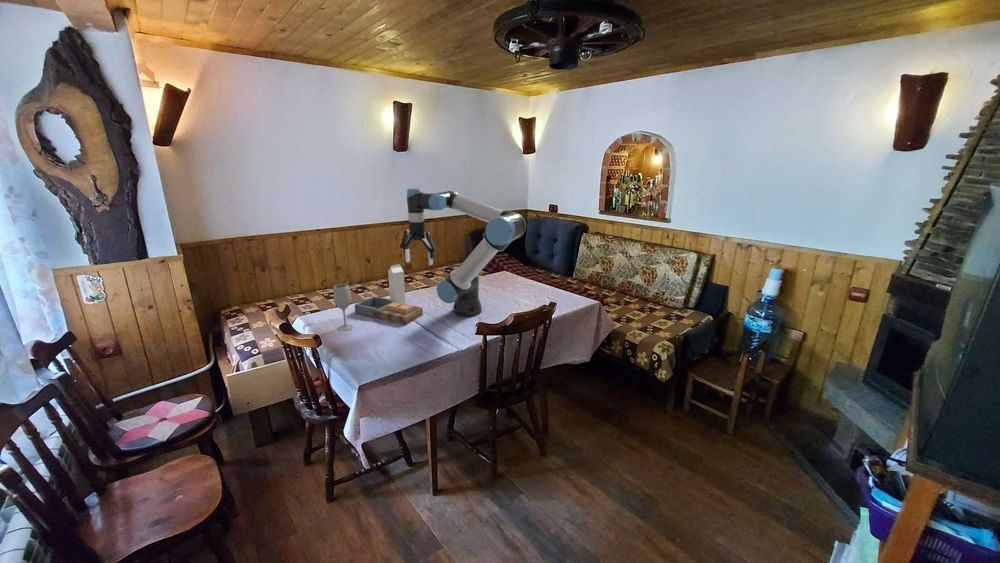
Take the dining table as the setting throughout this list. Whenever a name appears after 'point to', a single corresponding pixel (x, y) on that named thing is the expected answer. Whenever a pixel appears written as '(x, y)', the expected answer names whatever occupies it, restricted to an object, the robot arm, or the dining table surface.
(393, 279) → the milk
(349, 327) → the wineglass
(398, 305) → the tile
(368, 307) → the tray
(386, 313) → the board
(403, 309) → the tile
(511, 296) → the dining table surface
